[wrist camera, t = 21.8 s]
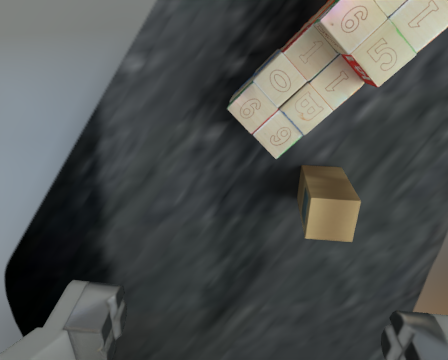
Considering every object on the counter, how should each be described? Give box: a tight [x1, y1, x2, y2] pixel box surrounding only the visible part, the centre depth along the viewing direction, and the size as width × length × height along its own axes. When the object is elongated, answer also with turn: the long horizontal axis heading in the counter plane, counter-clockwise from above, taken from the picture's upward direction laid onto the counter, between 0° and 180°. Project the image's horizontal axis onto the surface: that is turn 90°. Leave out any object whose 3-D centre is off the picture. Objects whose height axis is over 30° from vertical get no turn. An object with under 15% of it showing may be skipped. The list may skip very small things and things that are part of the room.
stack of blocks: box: [227, 0, 448, 159], centre depth 27 cm, size 21×6×12 cm, turn 135°
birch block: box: [297, 165, 361, 242], centre depth 35 cm, size 4×4×9 cm
